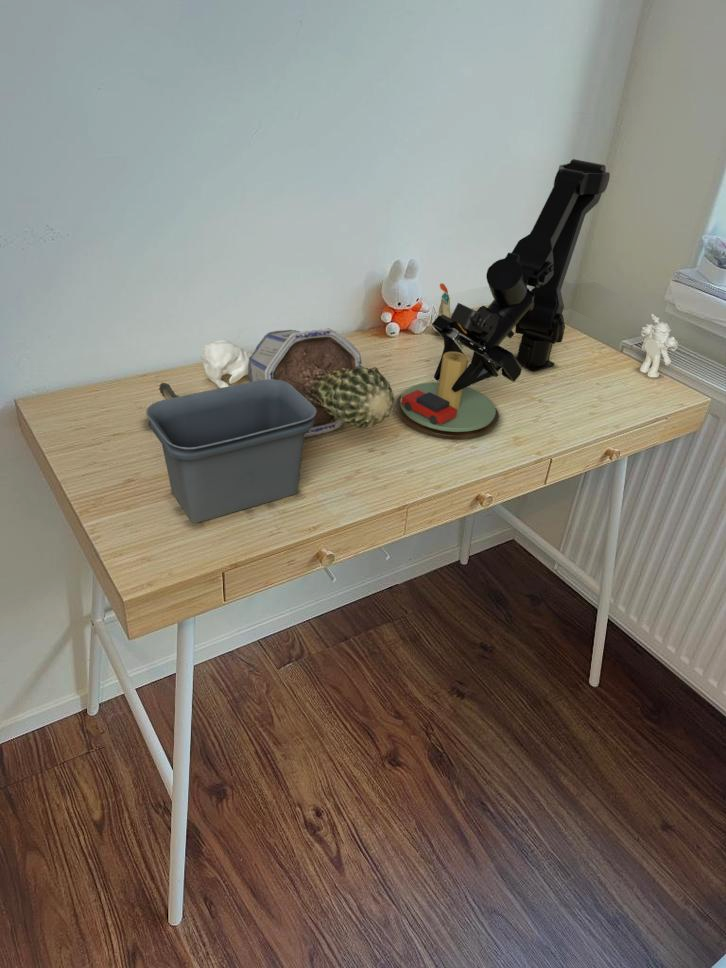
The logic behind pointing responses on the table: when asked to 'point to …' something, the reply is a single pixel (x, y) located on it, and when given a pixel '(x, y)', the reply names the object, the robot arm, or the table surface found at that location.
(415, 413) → the turntable
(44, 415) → the table surface
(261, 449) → the storage bin
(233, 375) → the white crumpled lump
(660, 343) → the white character figurine
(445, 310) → the rattle
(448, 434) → the display stand
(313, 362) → the potted plant
